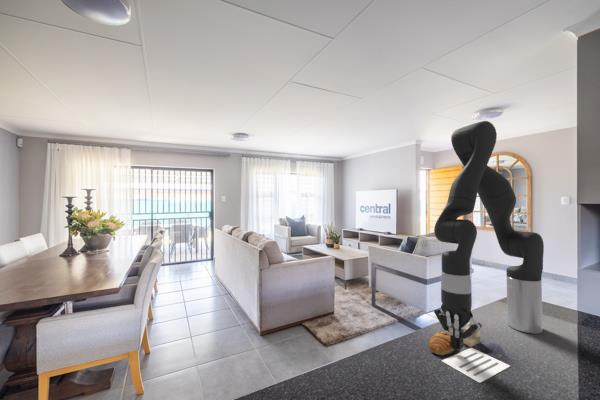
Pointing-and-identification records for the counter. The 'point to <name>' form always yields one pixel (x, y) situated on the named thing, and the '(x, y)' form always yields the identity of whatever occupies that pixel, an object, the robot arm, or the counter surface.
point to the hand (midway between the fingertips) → (456, 348)
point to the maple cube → (472, 337)
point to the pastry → (441, 343)
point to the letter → (475, 364)
